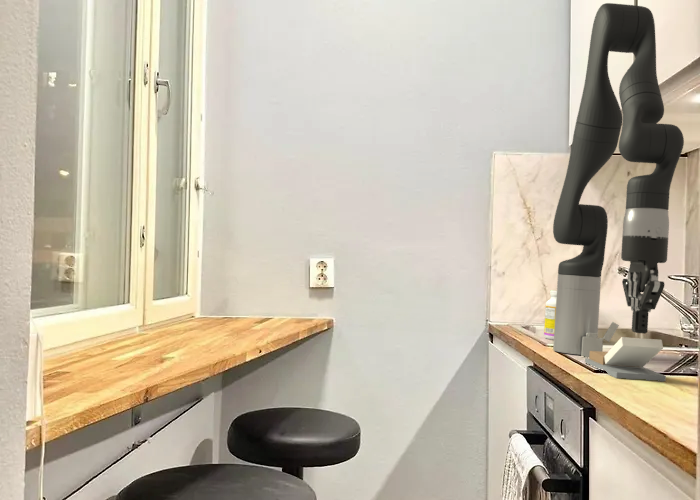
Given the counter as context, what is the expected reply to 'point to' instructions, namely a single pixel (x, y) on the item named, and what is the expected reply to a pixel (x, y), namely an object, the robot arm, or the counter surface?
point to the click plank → (633, 351)
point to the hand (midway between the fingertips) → (639, 332)
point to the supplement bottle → (550, 316)
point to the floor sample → (622, 368)
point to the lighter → (596, 340)
